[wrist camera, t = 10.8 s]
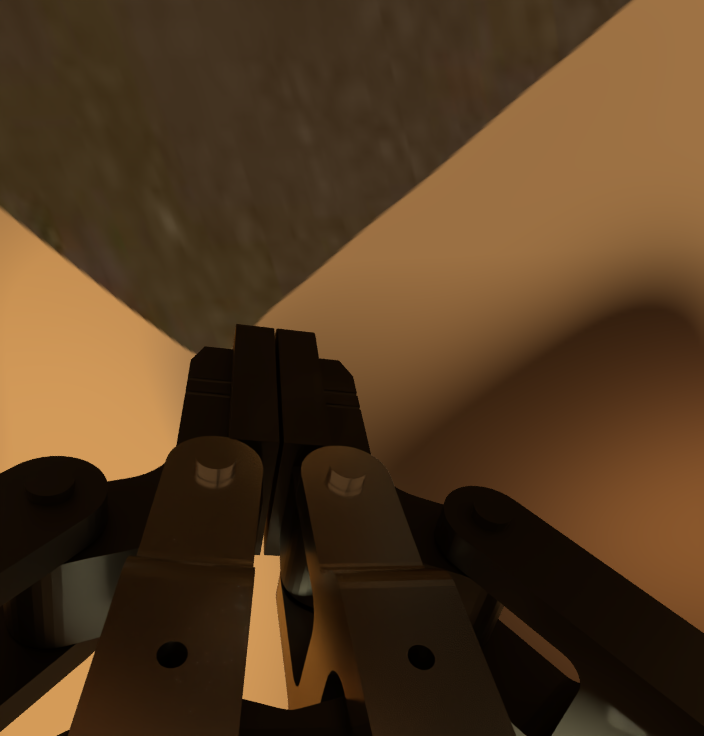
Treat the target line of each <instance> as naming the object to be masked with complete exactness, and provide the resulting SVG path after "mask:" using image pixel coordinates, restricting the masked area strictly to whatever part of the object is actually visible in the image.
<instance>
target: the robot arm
mask: <svg viewBox="0 0 704 736" xmlns="http://www.w3.org/2000/svg"><path fill="white" fill-rule="evenodd" d="M356 393H357V392H356V388H355V384H354V379H353V376H352V375H351V374H350V372H349V371H348V370H347V369H346V368H345V367H344V366H343V365H342V363H341V362H340V361H338V360H328V359H319V357H318V350H317V344H316V337H315V333H312V332H302V331H294V330H284V329H276V333H274V328H267V327H258V326H249V325H241V324H236V327H235V334H234V342H233V349H224V348H214V347H204V348H203V349H202V350H201V351H200V352H199V353H198V354H197V355H195V357H193V358H192V359H191V362H190V368H189V374H188V381H187V386H186V393H185V398H184V404H183V410H182V416H181V422H180V428H179V434H178V440H177V445H176V447H175V448H174V449H172V451H171V452H170V453H169V455H168V457H167V459H166V462H165V463H164V464H163V465H162V466H160V467H158V468H157V469H155V470H153V471H151V472H149V473H146V474H143V475H140V476H136V477H132V478H127V479H120V480H114V481H108V482H107V480H106V478H105V476H104V474H103V473H102V472H101V471H100V469H98V468H97V467H95V466H94V465H93V464H91V463H89V462H87V461H84V460H81V459H78V458H73V457H66V456H49V457H41V458H36V459H32V460H29V461H26V462H23V463H20V464H18V465H16V466H14V467H12V468H10V469H8V470H6V471H4V472H2V473H0V732H1V731H2V730H3V729H4V728H6V727H7V726H8V725H9V724H10V723H11V722H13V721H14V720H15V719H16V718H17V717H19V715H21V714H22V713H23V712H24V711H25V710H27V709H28V708H29V707H30V706H31V705H33V704H34V703H35V702H36V701H37V700H39V699H40V698H41V697H42V696H43V695H44V694H45V693H47V692H48V691H49V690H50V689H51V688H53V687H54V686H55V685H56V684H57V683H58V682H60V681H61V680H62V679H63V678H64V677H66V676H67V675H68V674H69V673H70V672H71V671H72V670H74V669H75V668H76V667H77V666H78V665H80V664H81V663H82V662H83V661H84V660H86V659H87V658H88V657H89V656H90V655H91V654H92V653H93V652H94V651H95V654H94V657H93V660H92V663H91V666H90V669H89V672H88V675H87V678H86V681H85V684H84V687H83V690H82V693H81V696H80V700H79V702H78V705H77V709H76V712H75V715H74V718H73V721H72V724H71V727H70V730H68V731H65V732H63V733H61V734H59V735H57V736H704V633H703V632H701V631H700V630H698V629H697V628H696V627H694V626H693V625H691V624H690V623H688V622H687V621H686V620H684V619H683V618H681V617H680V616H679V615H677V614H676V613H674V612H672V611H671V610H670V609H669V608H667V607H666V606H664V605H663V604H661V603H660V602H659V601H657V600H656V599H654V598H653V597H651V596H650V595H649V594H647V593H646V592H644V591H643V590H641V589H640V588H639V587H637V586H636V585H634V584H633V583H632V582H630V581H629V580H627V579H626V578H624V577H623V576H622V575H620V574H619V573H617V572H616V571H614V570H613V569H612V568H610V567H609V566H607V565H606V564H604V563H603V562H602V561H600V560H599V559H597V558H596V557H594V556H593V555H592V554H590V553H589V552H587V551H586V550H585V549H583V548H582V547H580V546H579V545H578V544H576V543H575V542H573V541H572V540H570V539H569V538H568V537H566V536H565V535H563V534H562V533H560V532H559V531H558V530H556V529H554V528H553V527H552V526H550V525H549V524H548V523H546V522H545V521H543V520H542V519H541V518H539V517H538V516H536V515H535V514H533V513H532V512H531V511H529V510H528V509H526V508H525V507H523V506H522V505H521V504H519V503H518V502H516V501H515V500H513V499H512V498H510V497H509V496H507V495H505V494H503V493H501V492H498V491H495V490H493V489H489V488H486V487H479V486H466V487H461V488H458V489H456V490H454V491H452V492H451V493H450V494H449V495H448V496H447V497H446V499H445V502H444V505H443V504H439V503H436V502H433V501H429V500H426V499H423V498H419V497H416V496H413V495H411V494H408V493H406V492H404V491H402V490H399V489H398V488H396V487H395V486H394V484H393V481H392V479H391V476H390V474H389V472H388V470H387V469H386V467H385V466H384V465H383V464H382V463H381V462H380V461H379V460H378V459H376V458H375V457H374V456H372V455H371V453H370V448H369V444H368V440H367V436H366V431H365V427H364V422H363V418H362V414H361V410H359V408H360V405H359V401H358V396H356ZM263 535H264V555H274V556H280V569H281V571H280V576H279V581H278V586H277V591H276V603H277V611H278V620H279V628H280V636H281V645H282V653H283V661H284V670H285V678H286V687H287V695H288V708H289V709H288V710H286V709H280V708H276V707H272V706H268V705H264V704H261V703H257V702H252V701H248V700H245V699H242V695H243V685H244V676H245V666H246V656H247V646H248V635H249V626H250V616H251V606H252V596H253V586H254V576H255V567H253V563H254V555H260V552H261V546H262V540H263ZM504 606H505V607H506V608H507V609H509V610H510V611H511V612H513V613H514V614H515V615H516V616H517V617H518V618H520V619H521V620H522V621H523V622H525V623H526V624H527V625H528V626H529V627H531V628H532V629H533V630H534V631H536V632H537V633H538V634H539V635H541V636H542V637H543V638H544V639H545V640H547V641H548V642H549V643H550V644H552V645H553V646H554V647H555V648H556V649H558V650H559V651H560V652H562V653H563V654H564V655H565V656H566V657H567V658H568V659H569V660H570V661H571V663H572V664H573V665H574V667H575V669H576V670H577V672H578V675H579V679H580V683H577V682H575V681H573V680H571V679H570V678H568V677H567V676H566V675H564V674H563V673H562V672H561V671H560V670H558V669H557V668H556V667H555V666H554V665H552V664H551V663H550V662H549V661H548V660H546V659H545V658H544V657H543V656H542V655H540V654H539V653H538V652H537V651H536V650H534V649H533V648H532V647H531V646H530V645H528V644H527V643H526V642H525V641H524V640H522V639H521V638H520V637H519V636H518V635H516V634H515V633H514V632H513V631H512V630H510V629H509V628H508V627H507V626H506V625H504V624H503V623H502V622H501V621H500V620H499V619H498V618H499V616H500V614H501V611H502V609H503V607H504Z"/></svg>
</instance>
